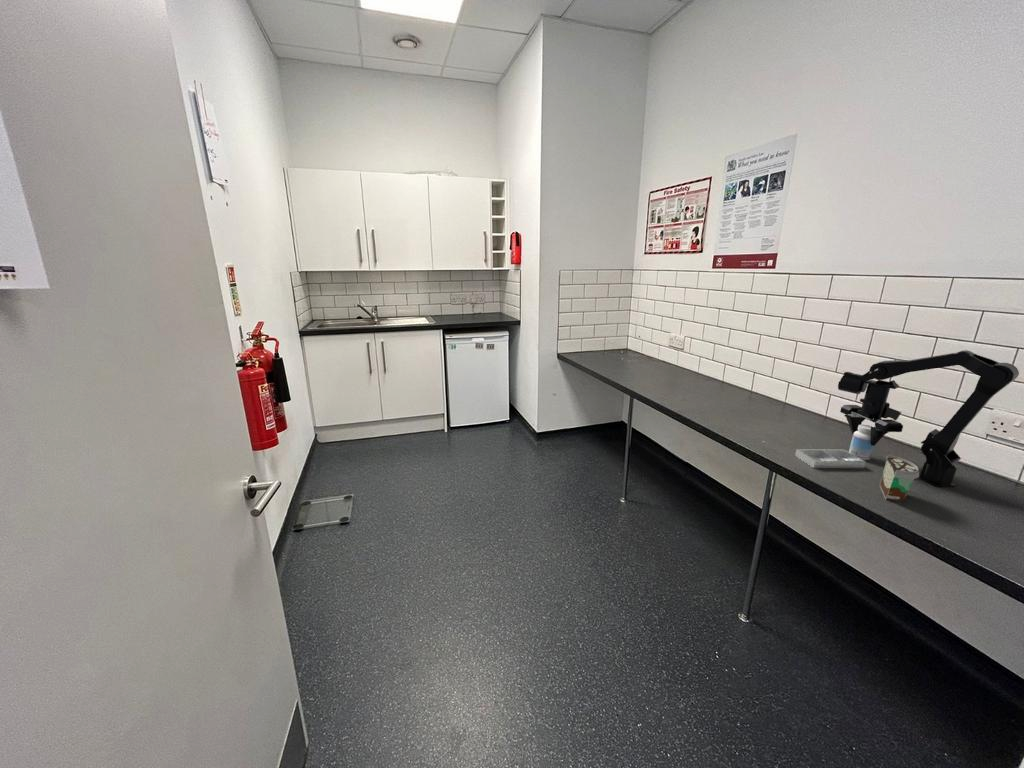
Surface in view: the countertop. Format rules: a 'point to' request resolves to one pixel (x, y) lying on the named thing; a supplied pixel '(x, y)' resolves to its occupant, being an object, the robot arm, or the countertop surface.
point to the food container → (897, 478)
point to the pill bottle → (862, 443)
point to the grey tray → (829, 458)
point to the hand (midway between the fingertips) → (863, 440)
